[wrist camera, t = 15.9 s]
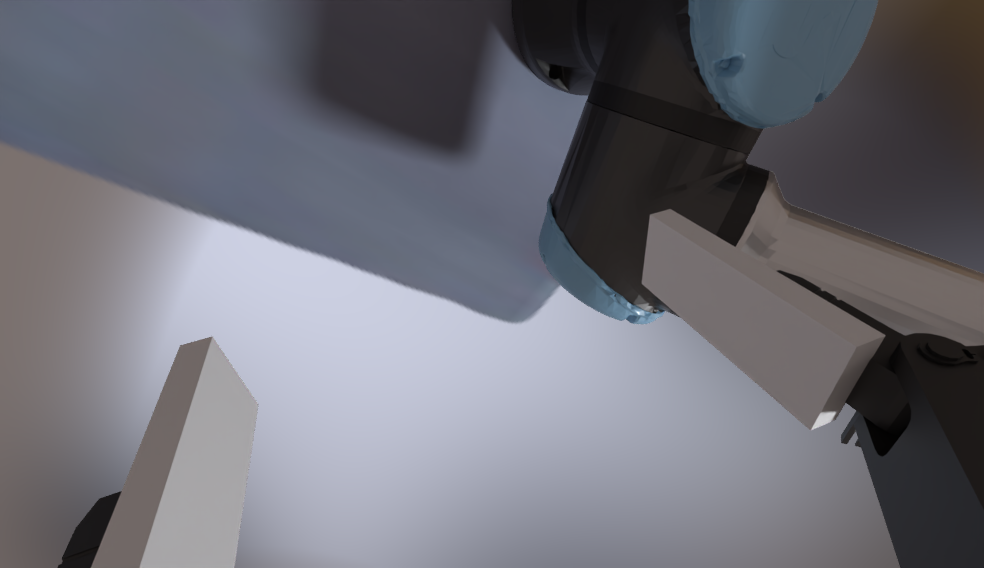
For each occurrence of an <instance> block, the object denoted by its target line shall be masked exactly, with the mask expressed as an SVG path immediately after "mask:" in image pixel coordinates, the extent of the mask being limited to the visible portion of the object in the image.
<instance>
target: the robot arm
mask: <svg viewBox="0 0 984 568" xmlns="http://www.w3.org/2000/svg"><path fill="white" fill-rule="evenodd" d="M877 3H878V0H512V16H513V25H514V31H515V36H516V39H517V43H518V46H519V49H520V51H521V53H522V55H523V57H524V59H525V61H526V63H527V64H528V66H529V67H530V69H531V70H532V71H533V72H534V73H535V75H536V76H537V77H539V78H540V79H541V80H542V81H543V82H545V83H546V84H548V85H549V86H551V87H553V88H556V89H558V90H561V91H564V92H567V93H570V94H574V95H589V96H588V99H587V101H586V103H585V106H584V109H583V112H582V114H581V117H580V120H579V123H578V126H577V128H576V131H575V134H574V137H573V139H572V142H571V145H570V148H569V151H568V153H567V156H566V159H565V162H564V164H563V167H562V170H561V173H560V176H559V178H558V181H557V184H556V187H555V189H554V192H553V194H551V195H550V197H549V199H548V202H547V213H546V216H545V219H544V223H543V226H542V229H541V233H540V236H539V252H540V255H541V257H542V260H543V262H544V263H545V265H546V267H547V269H548V271H549V272H550V274H551V275H552V276H553V277H554V279H555V280H556V281H557V282H558V283H559V284H560V285H561V286H562V287H563V288H564V289H566V290H567V291H568V292H569V293H570V294H572V295H573V296H574V297H576V298H577V299H578V300H580V301H581V302H583V303H584V304H586V305H587V306H590V307H591V308H593V309H595V310H596V311H598V312H600V313H602V314H604V315H606V316H609V317H612V318H614V319H617V320H621V321H622V320H624V319H626V320H628V321H629V322H631V323H633V324H647V323H650V322H652V321H654V320H656V319H657V318H659V317H661V316H662V315H663V314H664V312H665V311H667V312H670V313H672V314H674V315H676V316H678V317H681V318H682V319H683V320H684V321H685V322H687V323H688V324H689V325H690V326H691V327H692V328H693V329H695V330H696V331H697V332H698V333H699V334H700V335H701V336H703V337H704V338H705V339H706V340H707V341H708V342H709V343H711V344H712V345H713V346H714V347H715V348H716V349H717V350H719V351H720V352H721V353H722V354H723V355H724V356H726V357H727V358H728V359H729V360H730V361H731V362H732V363H734V364H735V365H736V366H737V367H738V368H739V369H740V370H742V371H743V372H744V373H745V374H746V375H747V376H748V377H750V378H751V379H752V380H753V381H754V382H755V383H757V384H758V385H759V386H760V387H761V388H762V389H763V390H765V391H766V392H767V393H768V394H769V395H770V396H771V397H773V398H774V399H775V400H776V401H777V402H778V403H780V404H781V405H782V406H783V407H784V408H785V409H786V410H788V411H789V412H790V413H791V414H792V415H793V416H795V417H796V418H797V419H798V420H799V421H800V422H801V423H803V424H804V425H805V426H806V427H807V428H808V429H809V430H813V429H815V428H818V427H820V426H822V425H824V424H827V423H829V422H831V421H833V420H836V418H837V416H838V415H839V413H840V411H841V410H842V408H843V406H844V405H845V403H847V404H848V405H850V406H851V407H852V408H854V409H855V410H856V413H855V414H854V416H853V417H852V419H851V421H850V422H849V424H848V425H847V427H846V429H845V430H844V432H843V433H842V435H841V443H844V444H847V443H848V442H849V440H850V438H851V437H852V436H853V434H854V433H855V432H856V433H857V436H858V440H857V441H856V443H855V446H859V447H861V448H862V451H863V454H864V457H865V460H866V463H867V466H868V469H869V472H870V475H871V479H872V482H873V485H874V488H875V491H876V494H877V497H878V500H879V503H880V506H881V509H882V512H883V515H884V519H885V521H886V525H887V528H888V531H889V534H890V537H891V540H892V543H893V546H894V549H895V552H896V555H897V558H898V561H899V565H900V567H901V568H984V274H983V273H980V272H978V271H975V270H972V269H969V268H966V267H964V266H961V265H958V264H955V263H952V262H949V261H947V260H944V259H941V258H938V257H936V256H933V255H930V254H927V253H924V252H922V251H919V250H916V249H913V248H910V247H908V246H905V245H902V244H899V243H896V242H894V241H891V240H888V239H885V238H882V237H879V236H877V235H874V234H871V233H868V232H865V231H862V230H860V229H857V228H854V227H852V226H849V225H846V224H843V223H840V222H837V221H834V220H832V219H829V218H826V217H823V216H821V215H818V214H815V213H812V212H809V211H807V210H804V209H801V208H798V207H796V206H793V205H791V204H789V203H788V202H787V201H786V200H785V199H784V198H783V195H782V193H781V190H780V187H779V185H778V182H777V179H776V177H775V174H774V172H771V171H768V170H765V169H762V168H759V167H756V166H753V165H750V164H748V163H747V162H746V159H747V158H748V156H749V154H750V152H751V150H752V148H753V147H754V145H755V143H756V141H757V140H758V138H759V136H760V134H761V133H762V131H763V129H764V128H768V127H775V126H779V125H784V124H788V123H790V122H794V121H795V120H797V119H799V118H802V117H803V116H805V115H806V114H808V113H809V112H810V111H811V110H812V109H813V105H814V102H821V101H823V100H824V99H826V98H827V97H828V96H829V95H830V93H831V92H832V91H833V90H834V89H835V88H836V87H837V85H838V84H839V83H840V82H841V80H842V79H843V77H844V76H845V74H846V73H847V72H848V70H849V69H850V67H851V65H852V64H853V62H854V60H855V58H856V57H857V55H858V53H859V51H860V49H861V47H862V45H863V43H864V40H865V38H866V36H867V33H868V31H869V28H870V26H871V23H872V20H873V17H874V14H875V11H876V7H877ZM257 410H258V404H257V402H256V400H255V399H254V397H253V396H252V394H251V393H250V391H249V390H248V388H247V387H246V385H245V384H244V382H243V381H242V380H241V378H240V377H239V375H238V374H237V372H236V371H235V369H234V368H233V366H232V365H231V363H230V362H229V360H228V359H227V357H226V356H225V354H224V353H223V351H222V350H221V349H220V347H219V345H218V344H217V343H216V341H215V340H214V338H213V337H209V338H205V339H202V340H198V341H195V342H191V343H188V344H184V345H180V347H179V350H178V352H177V355H176V357H175V360H174V362H173V365H172V367H171V370H170V372H169V375H168V377H167V380H166V382H165V385H164V387H163V390H162V392H161V395H160V397H159V400H158V402H157V405H156V407H155V410H154V412H153V415H152V417H151V420H150V422H149V425H148V427H147V430H146V432H145V435H144V437H143V439H142V442H141V444H140V447H139V449H138V452H137V455H136V457H135V460H134V462H133V464H132V467H131V470H130V472H129V474H128V477H127V480H126V482H125V484H124V487H123V489H122V491H121V492H118V493H115V494H112V495H109V496H106V497H103V498H100V499H99V500H98V501H97V502H96V503H95V505H94V506H93V507H92V508H91V510H90V511H89V512H88V513H87V515H86V516H85V518H84V519H83V520H82V521H81V522H80V524H79V525H78V526H77V527H76V529H75V531H74V533H73V535H72V538H71V540H70V542H69V544H68V546H67V548H66V551H65V553H64V555H63V557H62V560H63V562H62V564H60V565H59V566H58V568H234V565H235V559H236V552H237V545H238V538H239V532H240V525H241V518H242V512H243V505H244V498H245V491H246V485H247V478H248V470H249V464H250V458H251V451H252V444H253V437H254V431H255V424H256V417H257Z"/></svg>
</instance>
